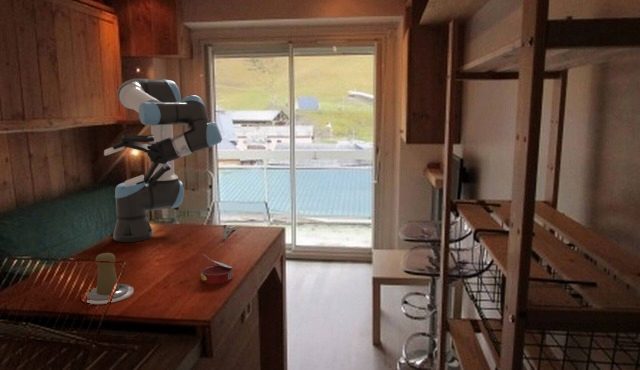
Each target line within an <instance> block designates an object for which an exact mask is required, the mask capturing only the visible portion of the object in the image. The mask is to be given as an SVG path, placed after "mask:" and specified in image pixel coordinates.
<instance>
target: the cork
mask: <svg viewBox="0 0 640 370" xmlns="http://www.w3.org/2000/svg"><path fill="white" fill-rule="evenodd" d="M96 261H109V262H115V263H116V256H115V254H114V253H111V252H105V253H104V252H103V253H99V254H98V255H96V257H95V265H96V266H97V279H96V280H97V281H96V287H97V291H96V293H97V294H100V295H107V294H111V292H112V289H113V287H114V285H115V283H116V282H117V281H118V277H117V274H116V269H115V263H100V262H96ZM118 284H119V283H118ZM118 284H117V288H116V291H115V292H117V291H118V290H119V286H118Z"/></svg>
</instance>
